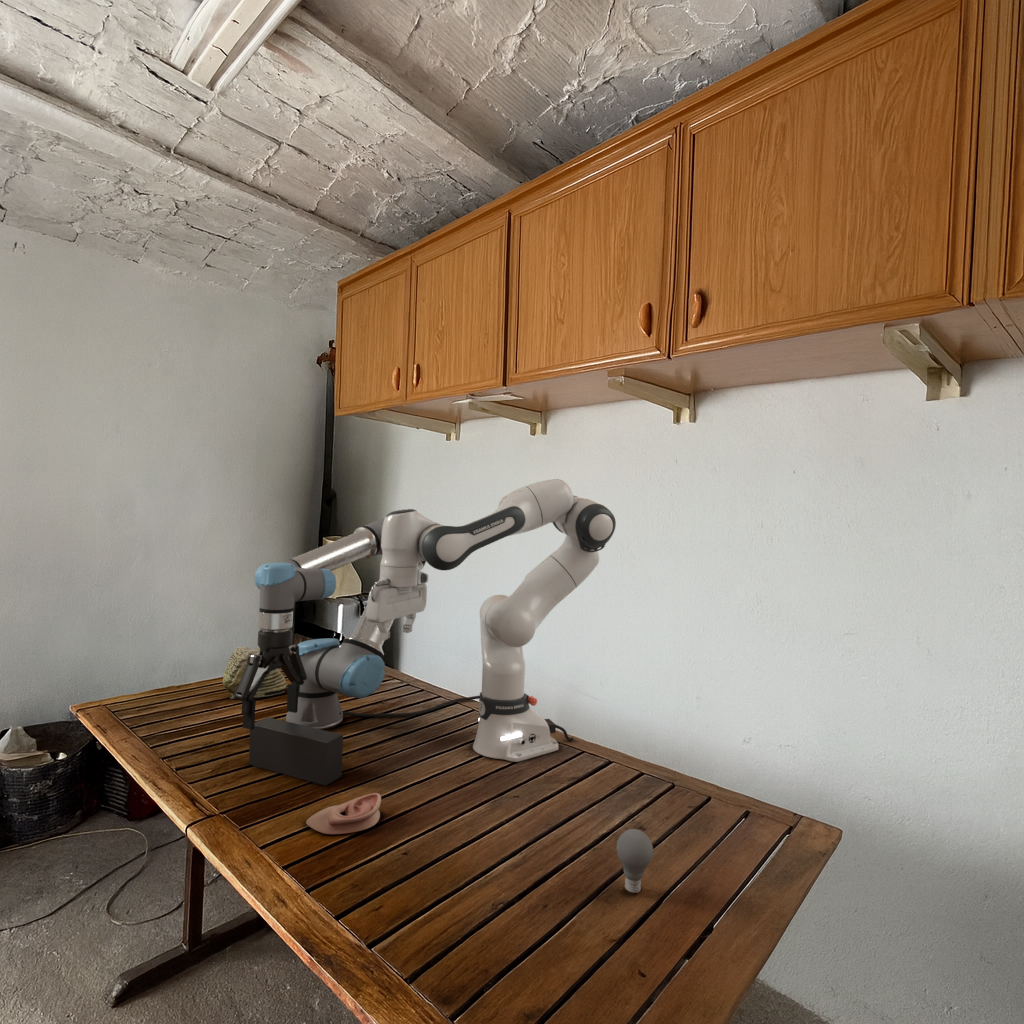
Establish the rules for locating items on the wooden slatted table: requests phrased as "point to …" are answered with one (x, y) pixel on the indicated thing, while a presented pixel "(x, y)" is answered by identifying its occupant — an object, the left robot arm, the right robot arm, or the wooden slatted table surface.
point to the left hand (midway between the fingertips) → (271, 719)
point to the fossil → (235, 670)
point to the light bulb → (634, 857)
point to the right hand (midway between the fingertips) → (396, 635)
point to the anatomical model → (347, 816)
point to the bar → (296, 750)
